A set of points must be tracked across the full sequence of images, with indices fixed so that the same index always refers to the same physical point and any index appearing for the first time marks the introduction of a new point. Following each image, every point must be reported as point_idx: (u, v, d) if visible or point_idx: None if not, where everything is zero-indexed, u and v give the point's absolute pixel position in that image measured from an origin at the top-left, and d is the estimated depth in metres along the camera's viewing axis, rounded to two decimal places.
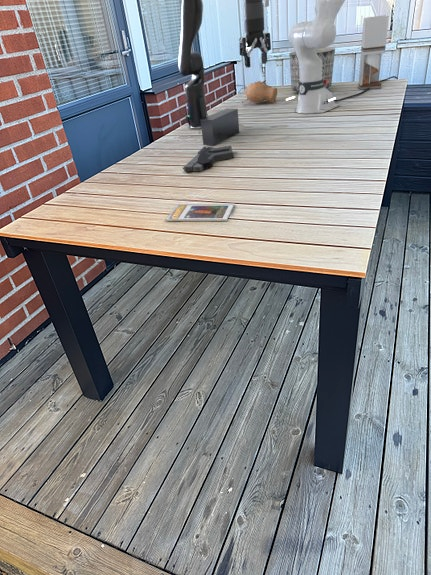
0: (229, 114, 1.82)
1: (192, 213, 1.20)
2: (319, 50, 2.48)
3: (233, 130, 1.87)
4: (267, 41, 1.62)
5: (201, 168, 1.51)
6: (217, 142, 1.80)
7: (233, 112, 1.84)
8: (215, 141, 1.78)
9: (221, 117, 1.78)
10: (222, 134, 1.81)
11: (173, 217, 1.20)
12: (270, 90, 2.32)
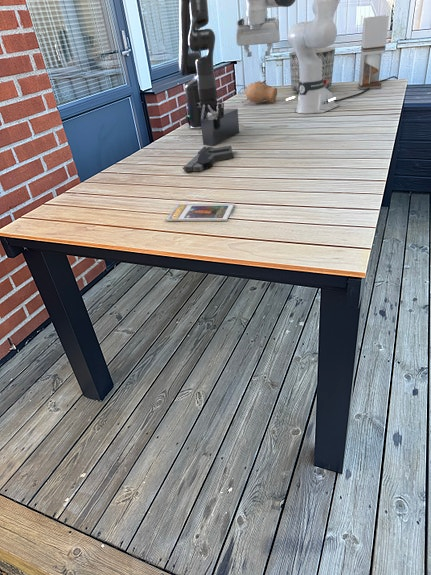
0: (229, 114, 1.82)
1: (192, 213, 1.20)
2: (319, 50, 2.48)
3: (233, 130, 1.87)
4: None
5: (201, 168, 1.51)
6: (217, 142, 1.80)
7: (233, 112, 1.84)
8: (215, 141, 1.78)
9: None
10: (222, 134, 1.81)
11: (173, 217, 1.20)
12: (270, 90, 2.32)
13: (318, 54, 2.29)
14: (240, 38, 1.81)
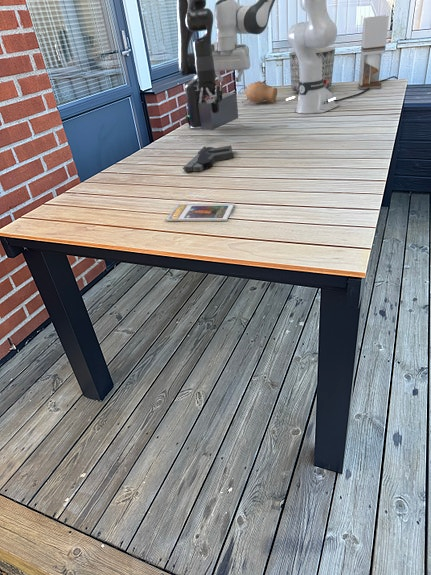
0: (228, 98, 1.78)
1: (192, 213, 1.20)
2: (319, 50, 2.48)
3: (232, 115, 1.84)
4: None
5: (201, 168, 1.51)
6: (215, 126, 1.76)
7: (232, 96, 1.80)
8: (213, 125, 1.75)
9: None
10: (220, 119, 1.77)
11: (173, 217, 1.20)
12: (270, 90, 2.32)
13: (318, 54, 2.29)
14: None
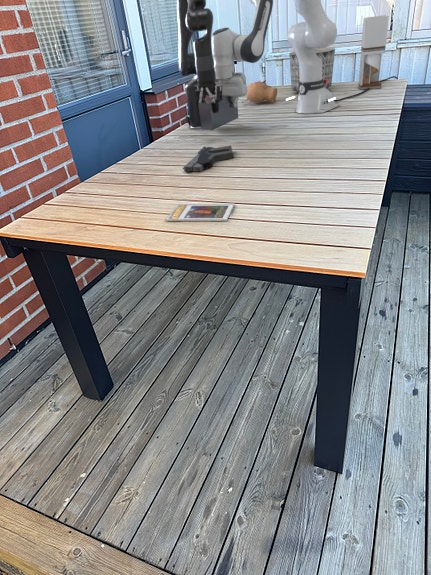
0: (228, 98, 1.78)
1: (192, 213, 1.20)
2: (319, 50, 2.48)
3: (232, 115, 1.84)
4: None
5: (201, 168, 1.51)
6: (215, 126, 1.76)
7: None
8: (213, 125, 1.75)
9: None
10: (220, 119, 1.77)
11: (173, 217, 1.20)
12: (270, 90, 2.32)
13: (318, 54, 2.29)
14: None
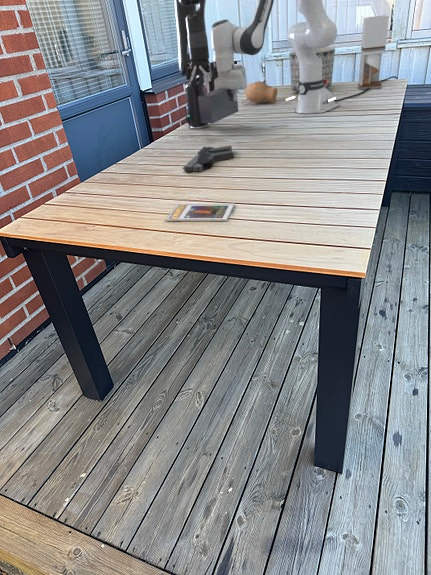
0: (227, 91, 1.76)
1: (192, 213, 1.20)
2: (319, 50, 2.48)
3: (232, 108, 1.82)
4: None
5: (201, 168, 1.51)
6: (215, 119, 1.74)
7: None
8: (213, 119, 1.73)
9: (219, 94, 1.72)
10: (220, 112, 1.76)
11: (173, 217, 1.20)
12: (270, 90, 2.32)
13: (318, 54, 2.29)
14: None
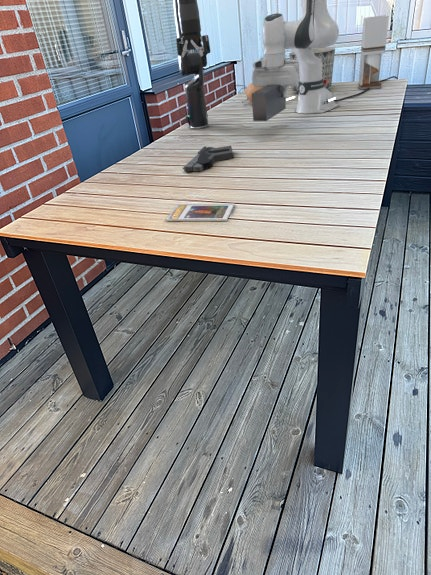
0: (278, 87, 1.71)
1: (192, 213, 1.20)
2: (319, 50, 2.48)
3: (281, 105, 1.77)
4: None
5: (201, 168, 1.51)
6: (269, 117, 1.68)
7: (281, 86, 1.73)
8: (267, 116, 1.67)
9: (272, 90, 1.67)
10: (272, 109, 1.70)
11: (173, 217, 1.20)
12: None
13: (318, 54, 2.29)
14: (257, 79, 1.75)
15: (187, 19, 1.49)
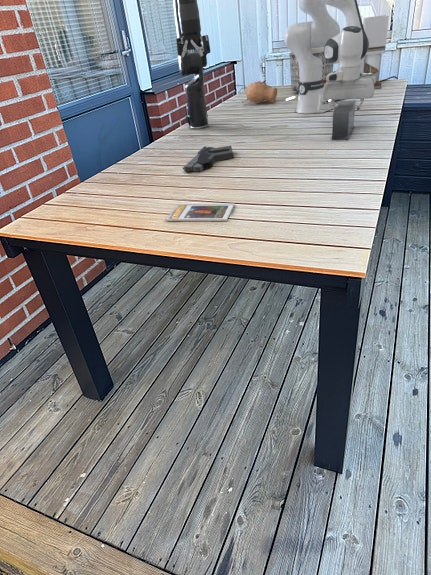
0: (353, 106, 1.68)
1: (192, 213, 1.20)
2: (319, 50, 2.48)
3: (352, 123, 1.74)
4: None
5: (201, 168, 1.51)
6: (348, 135, 1.65)
7: (354, 104, 1.71)
8: (347, 135, 1.64)
9: (351, 109, 1.64)
10: (350, 127, 1.67)
11: (173, 217, 1.20)
12: (270, 90, 2.32)
13: (318, 54, 2.29)
14: (328, 92, 1.70)
15: (187, 19, 1.49)
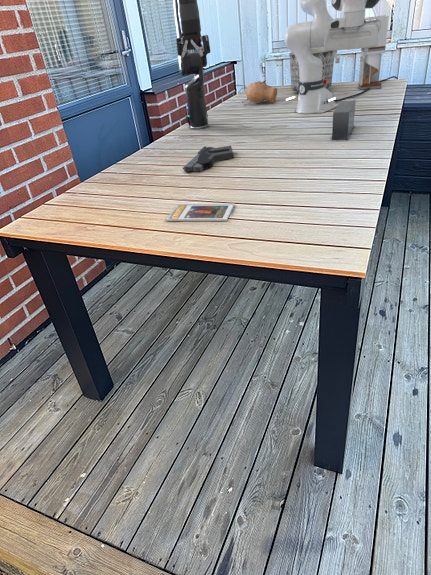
0: (353, 106, 1.68)
1: (192, 213, 1.20)
2: (319, 50, 2.48)
3: (352, 123, 1.74)
4: None
5: (201, 168, 1.51)
6: (348, 135, 1.65)
7: (354, 104, 1.71)
8: (347, 135, 1.64)
9: (351, 109, 1.64)
10: (350, 127, 1.67)
11: (173, 217, 1.20)
12: (270, 90, 2.32)
13: (318, 54, 2.29)
14: (330, 42, 1.60)
15: (187, 19, 1.49)
